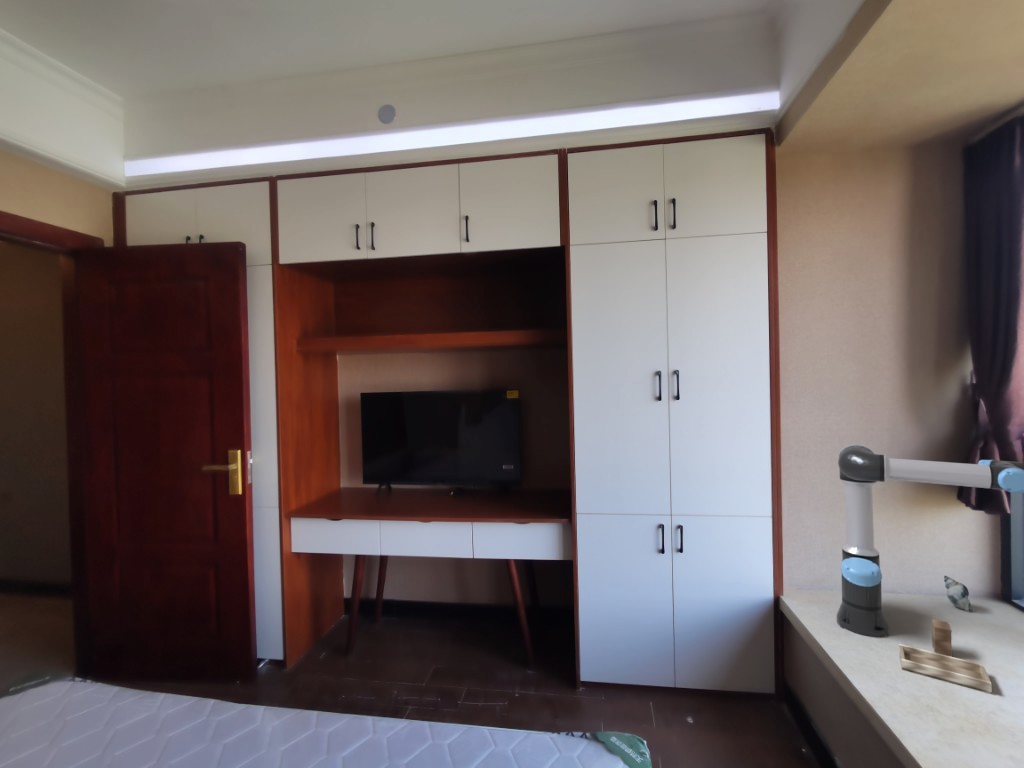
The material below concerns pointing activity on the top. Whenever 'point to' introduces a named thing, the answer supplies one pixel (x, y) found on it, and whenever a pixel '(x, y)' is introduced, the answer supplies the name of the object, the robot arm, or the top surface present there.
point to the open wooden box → (945, 668)
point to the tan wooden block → (941, 637)
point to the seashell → (957, 594)
